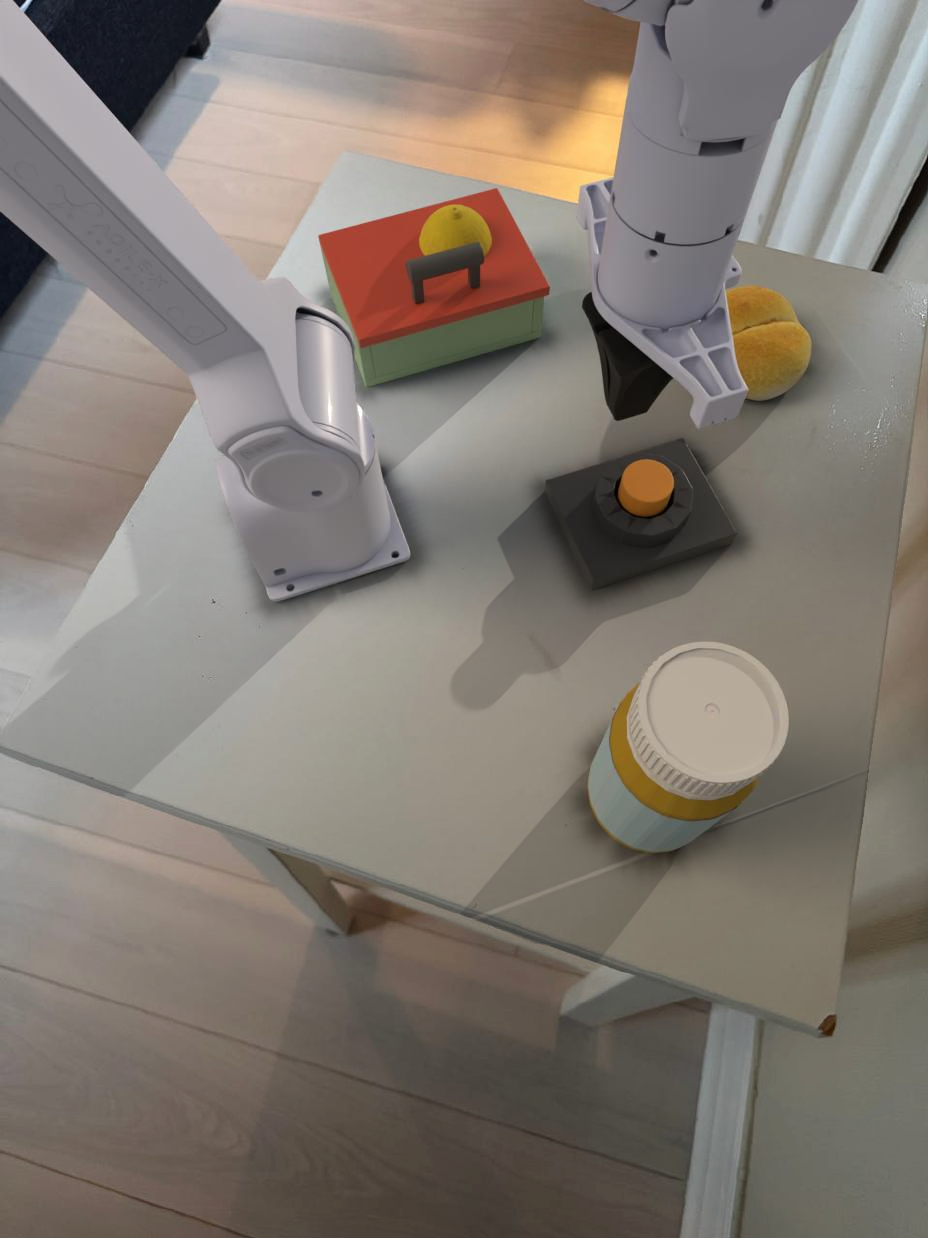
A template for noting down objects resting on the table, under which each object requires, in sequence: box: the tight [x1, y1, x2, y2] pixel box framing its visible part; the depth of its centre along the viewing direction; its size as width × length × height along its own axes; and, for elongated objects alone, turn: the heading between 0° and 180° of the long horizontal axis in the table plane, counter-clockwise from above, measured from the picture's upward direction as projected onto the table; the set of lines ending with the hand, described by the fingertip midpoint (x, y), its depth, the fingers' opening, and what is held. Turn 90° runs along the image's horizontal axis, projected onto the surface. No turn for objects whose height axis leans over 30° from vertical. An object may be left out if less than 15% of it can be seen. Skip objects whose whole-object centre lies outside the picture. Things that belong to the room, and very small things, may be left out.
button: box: [618, 459, 674, 517], centre depth 52 cm, size 3×3×2 cm
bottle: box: [586, 641, 790, 854], centre depth 41 cm, size 7×7×15 cm
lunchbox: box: [319, 244, 545, 388], centre depth 61 cm, size 10×14×5 cm
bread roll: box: [725, 285, 813, 402], centre depth 59 cm, size 8×9×4 cm
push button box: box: [544, 437, 738, 591], centre depth 54 cm, size 10×8×3 cm
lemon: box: [419, 205, 492, 256], centre depth 60 cm, size 6×6×8 cm
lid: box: [317, 187, 551, 348], centre depth 56 cm, size 10×14×4 cm
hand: (627, 407), depth 47 cm, fingers closed
